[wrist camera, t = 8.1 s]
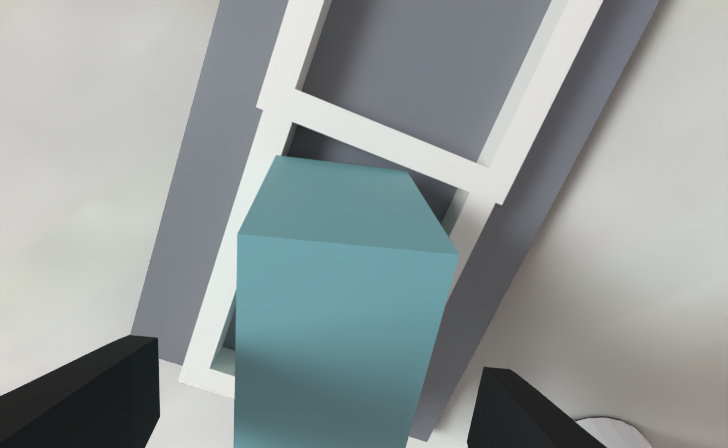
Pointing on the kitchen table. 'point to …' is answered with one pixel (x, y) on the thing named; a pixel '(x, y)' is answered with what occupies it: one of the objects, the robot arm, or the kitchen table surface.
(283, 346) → the teal bar
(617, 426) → the cup
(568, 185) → the kitchen table surface
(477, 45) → the shape board
